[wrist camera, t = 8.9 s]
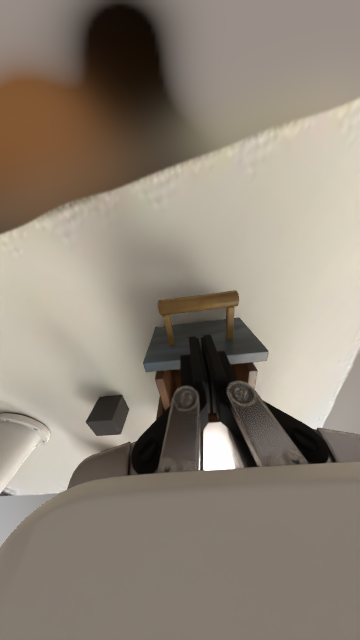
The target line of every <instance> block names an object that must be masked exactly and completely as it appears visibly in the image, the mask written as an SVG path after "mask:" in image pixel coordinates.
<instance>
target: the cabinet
mask: <svg viewBox="0 0 360 640" xmlns="http://www.w3.org/2000/svg"><path fill="white" fill-rule="evenodd" d="M164 412H165V410H164V406H163V403H162V400H161V397H160V398H159V405H158V411H157V418H156V419H158V418H159V417H160V416H161V415H162V414H163V413H164ZM208 421H209V423H208V424H207V425H206V427H205V428H204V430H203V431H204V470H217V469H233V468H242V467H241V464H240V462H239V459H238V457H237V454H236V452H235V449H234V447H233V444H232V442H231V439H230V437H229V434H228V432H227V429H226V426H225V425H224V424H222V423H221V422H220V420H219V419H217V415H215V416H208Z"/></svg>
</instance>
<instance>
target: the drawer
mask: <svg viewBox="0 0 360 640" xmlns="http://www.w3.org/2000/svg"><path fill="white" fill-rule="evenodd" d="M238 303H239V296H238V292H237V291H228V292H220V293H212V294H204V295H197V296H189V297H181V298H173V299H165V300H159V301H158V309H159V313H160V315H163V318H164V323H165V326H163V327H155V330H154V333H153V336H152V339H151V342H150V344H149V347H148V350H147V353H146V356H145V359H144V362H143V365H144V368H145V370H146V372H153V371H157V373H156V378H155V381H156V384H157V387H158V390H159V393H160V397H161V400H162V403H163V406H164V410H166V409H167V408H168V407H169V406H170V405H171V402H172V397H173V394H174V392H175V391H176V390H177V389H178V388H179V387H181V375H180V356H181V355H188V354H190V346H189V337H192V336H196V338H199V342H200V346H201V337H203V335H211V337H212V339H213V342H214V344H215V347H216V350H217V351H225V353H226V355H227V357H228V359H229V362H230V364H231V366H232V368H233V370H234V372H235V375H236V377H237V379H238V381H243V382H246V383H248V384H249V385H251V386H252V387H253V388H254V389H255V382H256V376H257V369H256V367H255V366H254V364H253V363H252V362H261V361H267V357H268V350H267V349H266V347H265V346H264V345H263V344H262V343H261V342H260V341H259V339H258V338H257V337H256V336H255V335H254V334H253V333H252V332H251V330H250V329H249V328H248V327H247V326H246V325H245V324H244V322H243V321H242V320H241V319H240V318H234V306H237V305H238ZM225 307H226V319H224V320H215V321H206V322H198V323H189V324H180V325H172V323H171V317H170V314H176V313H184V312H192V311H201V310H209V309H217V308H225ZM201 350H202V348H201ZM209 402H210V397H209ZM215 415H216V413H213V412H212V407H211V402H210V413H208V416H215Z"/></svg>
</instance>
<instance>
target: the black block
mask: <svg viewBox="0 0 360 640" xmlns="http://www.w3.org/2000/svg"><path fill="white" fill-rule="evenodd" d="M128 411H129V408H128V406H127V404H126V402H125V400H124V398H123V396H122V395H118V396H105V397H99V399H98V401H97V403H96V404H95V406H94V408H93V410H92V411H91V413H90V415H89V417H88V419H87V420H86V423H87V424H88V426H89V427H90V428H91V429H92V431H93V432H94V433H95V434H96V436H103V435H119V434H121V432H122V429H123V426H124V423H125V420H126V417H127V414H128Z"/></svg>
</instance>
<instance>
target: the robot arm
mask: <svg viewBox="0 0 360 640" xmlns="http://www.w3.org/2000/svg"><path fill="white" fill-rule="evenodd" d="M189 346H190V354H188V355H181V356H180V375H181V387H179V388H178V389H177V390H176V391H175V392H174V394H173V397H172V402H171V405H170V406H169V407H168V408H167V409H166V410H165V412H164V413H163V414H162V415H161V416H160V417H159V418H158V419H157V420H156V421H155V422H154V423H153V424H152V425H151V426H150V427H149V428H148V429H147V430H146V431H145V432H144V433H143V434H142V435H141V436H140V438H139V439H138V440H137V441H136V442H133V443H130V442H127V443H125V444H122V445H119V446H116V447H114V448H111V449H108V450H105V451H103V452H100V453H97V454H94V455H92V456H90V457H88V458H86V459H85V460H83V461H82V462H81V463H80V464H79V465H78V467H77V468H76V470H75V471H74V473H73V475H72V477H71V479H70V482H69V485H68V488H67V490H65V491H63V492H61V493H59V494H58V495H56V496H55V497H53V498H51V499H50V500H48V501H47V502H45V503H44V504H42V505H41V506H40V507H38V508H37V509H36V510H34V511H33V512H32V513H31V514H30V515H29V516H28V517H26V518H25V519H24V520H23V521H22V522H21V523H20V524H19V525H18V526H17V528H16V529H15V530H14V531H13V532H12V533H11V534H10V536H9V537H8V538H7V539H6V541H5V542H4V543H3V545H2V546H1V547H0V640H360V435H359V434H354V433H348V432H342V431H335V430H329V429H323V428H317V430H316V429H312V428H310V427H309V426H307V425H306V424H304V423H302V422H300V421H298V420H297V419H295V418H293V417H291V416H290V415H288V414H286V413H284V412H282V411H281V410H279V409H277V408H275V407H273V406H272V405H270V404H268V403H266V402H265V401H263V400H262V399H261V398H260V396H259V395H258V394H257V392H256V391H255V389H254V388H253V387H252V386H251V385H249V384H248V383H246V382H243V381H238V379H237V377H236V375H235V372H234V370H233V368H232V366H231V364H230V362H229V359H228V357H227V355H226V353H225V351H217V350H216V347H215V344H214V342H213V339H212V337H211V335H203V337H201V346H200V342H199V338H196V336H192V337H189ZM201 348H202V350H201ZM209 397H210V402H211V407H212V412H213V413H216V415H217V419H219V420H220V422H221V423H222V424H224V425H225V426H226V429H227V432H228V434H229V437H230V439H231V442H232V444H233V447H234V449H235V452H236V454H237V457H238V459H239V462H240V464H241V467H242V468H233V469H217V470H204V431H203V430H204V428H205V427H206V425H207V424H208V423H209V421H208V413H210V402H209ZM50 437H51V433H50V431H49V429H48V428H47V427H46V426H45V425H43V424H42V423H40V422H39V421H36V420H34V419H32V418H29V417H26V416H23V415H18V414H11V413H2V414H0V493H1V492H2V490H3V489H4V488H5V486H6V485H7V484H8V482H9V481H10V480H11V478H12V477H13V476H14V474H15V473H16V472H17V470H18V469H19V468H20V466H21V465H22V464H23V462H24V461H25V460H26V458H27V457H28V456H29V454H30V453H31V452H32V450H33V449H34V448H35V447H38V446H42V445H44V444H46V443H47V442H48V440H49V439H50Z"/></svg>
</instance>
